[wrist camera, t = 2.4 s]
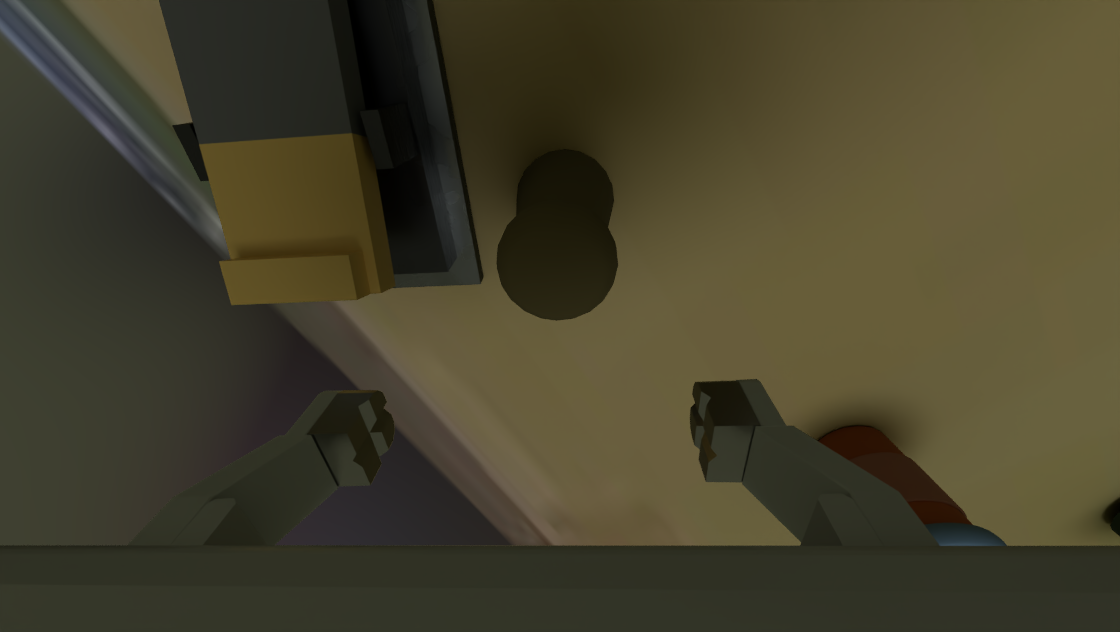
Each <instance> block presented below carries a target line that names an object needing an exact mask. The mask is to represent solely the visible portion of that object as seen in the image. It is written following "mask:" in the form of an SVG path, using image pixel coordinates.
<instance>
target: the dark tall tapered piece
mask: <svg viewBox="0 0 1120 632" xmlns="http://www.w3.org/2000/svg"><path fill="white" fill-rule="evenodd" d="M613 202H614V198H613V188H612V184H611V182H610V180H609V177H608V175H607V173H606V171H605V170H604V169H603V168H602V167H601V166H600V165H599V163H598V162H597V161H596V160H595V159H593V158H591V157H589V156H587V155H585V154H584V153H582V152H578V151H572V150H566V149H564V150H558V151H552V152H548V153H546V154H544V155H543V156H541V157H539V158H537V159H535V160H534V161H533V162H532V163H531V165H530V166H529V167H528V168H527V169H526V170H525V171H524V173H523V176H522V178H521V180H520V182H519V185H518V192H517V210H516V217H515V218H514V219H513V220H512V221H511V222H510V223H509V224H508V225H507V227H506V229H505V231H504V234H503V236H502V238H501V240H500V242H499V245H498V251H497V270H498V273H499V277H500V281H501V285H502V287H503V288H504V290H505V291H506V293H507V294H508V296H509V297H510V299H511V300H512V301H513V302H514V303H516V304H517V305H518V306H519V307H520V308H522V309H523V310H524V311H526V312H528V313H530V314H533V315H535V316H537V317H539V318H543V319H550V320H564V319H572V318H576V317H578V316H580V315H583V314H585V313H588V312H590V311H591V310H592V309H594V308H595V307H596V306H597V305H598V304H600V303H601V302H602V301H603V300H604V298H605V297H606V295H607V294H608V292H609V291H610V289H611V287H612V285H613V283H614V280H615V275H616V271H617V267H618V260H617V250H616V244H615V241H614V239H613V237H612V235H611V233H610V231H609V228H608V225H609V220H610V216H611V211H612V207H613Z"/></svg>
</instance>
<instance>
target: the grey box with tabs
mask: <svg viewBox="0 0 1120 632" xmlns="http://www.w3.org/2000/svg"><path fill="white" fill-rule="evenodd" d="M347 3H348V9H349V15H350V20H351V26H352V32H353V38H354V44H355V50H356V56H357V62H358V67H359V73H360V79H361V85H362V91H363V97H364V103H365V108H366V110H362V111H360V114H361V117H362V121H363V124H364V128H365V131H366V135H367V138H368V142H369V145H370V149H371V152H372V155H373V159H374V162H375V167H376V173H377V179H378V185H379V191H380V196H381V202H382V208H383V214H384V220H385V226H386V232H387V238H388V243H389V249H390V255H391V261H392V267H393V273H394V279H395V285H396V286H395V287H393V288H401V287H424V286H448V285H471V284H481V282H482V280H483V278H484V277H483V272H482V266H481V261H480V255H479V250H478V245H477V239H476V234H475V228H474V223H473V217H472V212H471V207H470V201H469V196H468V190H467V185H466V179H465V174H464V169H463V163H462V158H461V152H460V147H459V142H458V136H457V131H456V125H455V120H454V114H453V109H452V104H451V98H450V93H449V87H448V82H447V76H446V71H445V66H444V60H443V55H442V49H441V44H440V38H439V33H438V28H437V22H436V17H435V11H434V6H433V0H347ZM172 126H173V128H174V130H175V132H176V134H177V136H178V138H179V139H180V141H181V143H182V145H183V147H184V149H185V151H186V153H187V155H188V157H189V159H190V161H191V163H192V165H193V167H194V169H195V171H196V173H197V175H198V177H199V179H200V181H209V178H208V175H207V171H206V168H205V164H204V160H203V157H202V153H201V150H200V146H199V142H198V139H197V135H196V132H195V128H194V124H193V122H191V123H185V124H179V125H172Z"/></svg>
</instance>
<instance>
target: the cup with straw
mask: <svg viewBox="0 0 1120 632" xmlns="http://www.w3.org/2000/svg"><path fill="white" fill-rule="evenodd" d="M818 442H820V443H821V444H823V445H825V446H826V447H828V448H829V449H831V450H833V451H834V452H836V453H838V454H839V455H841V456H842V457H844V458H846V459H847V460H849V461H850V462H852V463H854V464H855V465H857V466H858V467H860V468H862V469H863V470H865V471H866V472H868V473H870V474H871V475H873V476H874V477H876V478H878V479H879V480H881V481H883V482H884V483H886V484H887V485H889V486H891V487H892V488H894V489H895V490H897V491H899V492H900V494H901V495H902V496H903V498H904V499H905V500H906V502H907V503H908V504H909V506H910V507H911V508H912V509H913V511H914V512H915V513H916V515H917V516H918V517H919V519H920V520H921V521H922V523H923V524H924V525H925V527H926V528H927V529H928V531H929V532H930V533H931V535H932V536H933V537H934V538H935V540H936V541H937V542H938V544H939V545H940V546H1007V545H1006V544H1005V543H1004V542H1003V541H1002V540H1001V539H1000V538H999V537H998V536H996V535H995V534H994V533H992V532H990V531H989V530H986V529H984V528H982V527H978V526H975V525H973V524H972V523H971V522H970V521H969V520H968V519H967V516H966V514H965V512H964V511H963V510H962V509H961V508H960V507H959V506H958V505H957V504H956V503H955V502H954V501H953V500H952V499H951V498H950V497H949V496H948V495H947V494H946V493H945V492H944V491H943V490H942V489H941V488H940V487H939V486H938V485H937V484H936V483H935V482H934V481H933V480H932V479H931V478H930V477H929V476H928V475H927V474H926V473H925V472H924V471H923V470H922V469H921V468H920V467H919V466H918V465H917V464H916V463H915V462H914V461H913V460H912V459H910V458H909V457H907V456H905V455H904V454H903V453H902V452H901V451H900V450H899V449H898V448H897V447H896V446H895V445H894V444H893V443H892V442H891V441H890V440H889V439H888V438H887V437H886V436H885V435H884V434H883V433H882V432H880V431H878V430H876V429H874V428H871V427H866V426H852V427H846V428H842V429H838V430H836V431H833V432H831V433H829V434H827V435H826V436H824V437H823V438H821V439H820V440H819V441H818Z"/></svg>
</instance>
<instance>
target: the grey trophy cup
mask: <svg viewBox="0 0 1120 632" xmlns="http://www.w3.org/2000/svg"><path fill="white" fill-rule="evenodd" d="M1110 526H1111V529H1112V530H1113V531H1114V532H1115V533H1117V534H1118V535H1119V536H1120V512H1119V513H1118V514H1117V515H1116V516H1115V517H1114V519H1113V521H1112V523H1111V525H1110Z"/></svg>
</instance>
